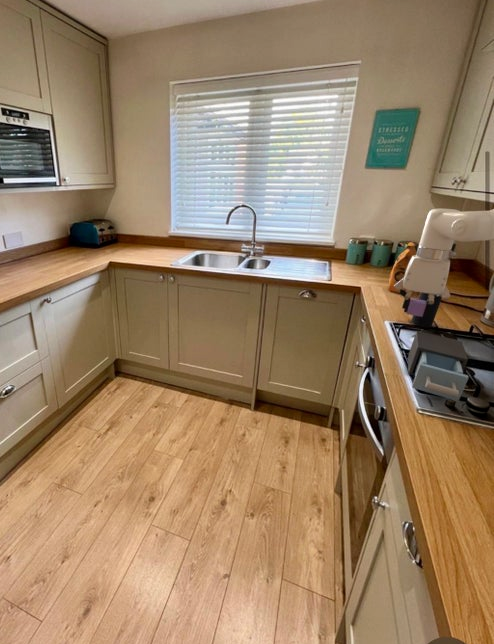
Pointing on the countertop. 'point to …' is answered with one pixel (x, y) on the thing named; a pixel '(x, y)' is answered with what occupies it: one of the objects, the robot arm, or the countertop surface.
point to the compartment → (435, 349)
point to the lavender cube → (416, 307)
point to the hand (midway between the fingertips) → (414, 312)
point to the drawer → (439, 376)
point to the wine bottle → (429, 317)
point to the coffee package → (401, 267)
